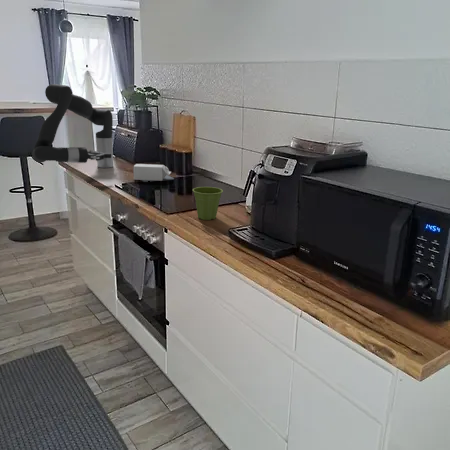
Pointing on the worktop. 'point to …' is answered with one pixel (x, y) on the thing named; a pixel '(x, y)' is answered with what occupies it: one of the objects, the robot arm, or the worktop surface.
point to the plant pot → (207, 201)
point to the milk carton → (150, 172)
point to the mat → (162, 180)
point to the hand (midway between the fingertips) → (110, 155)
